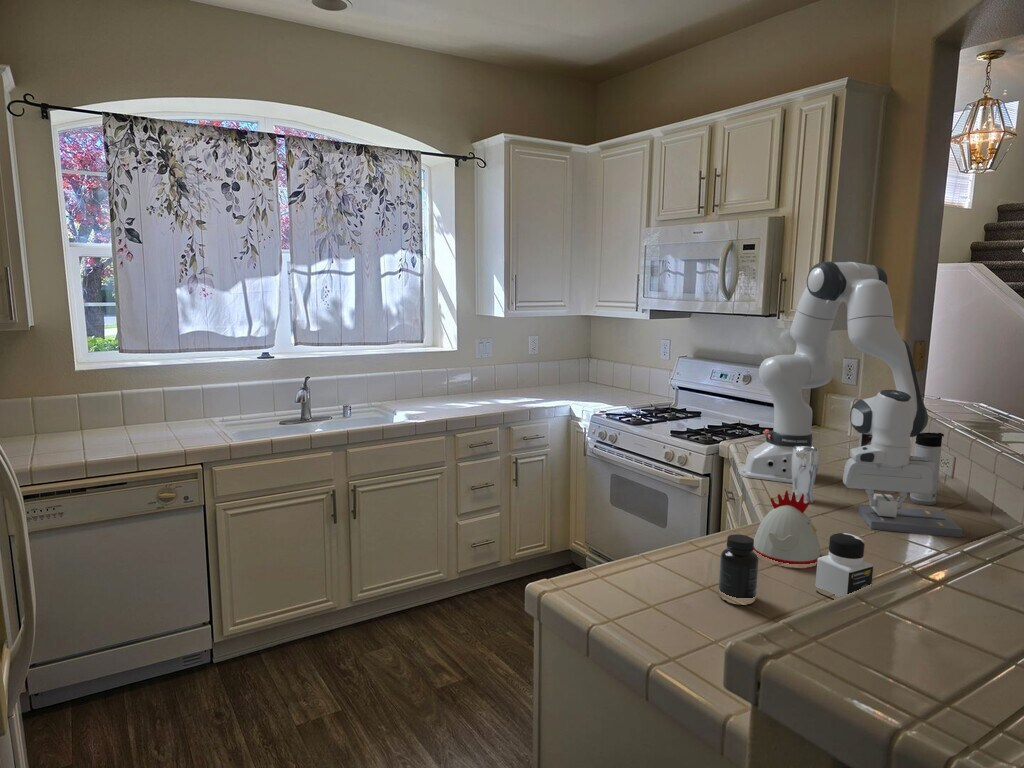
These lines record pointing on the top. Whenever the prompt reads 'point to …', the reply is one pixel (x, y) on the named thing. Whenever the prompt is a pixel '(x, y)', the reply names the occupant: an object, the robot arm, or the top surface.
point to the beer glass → (804, 471)
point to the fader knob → (885, 505)
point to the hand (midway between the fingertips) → (884, 506)
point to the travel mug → (929, 448)
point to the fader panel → (911, 521)
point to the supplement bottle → (739, 567)
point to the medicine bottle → (844, 566)
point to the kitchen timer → (788, 533)
